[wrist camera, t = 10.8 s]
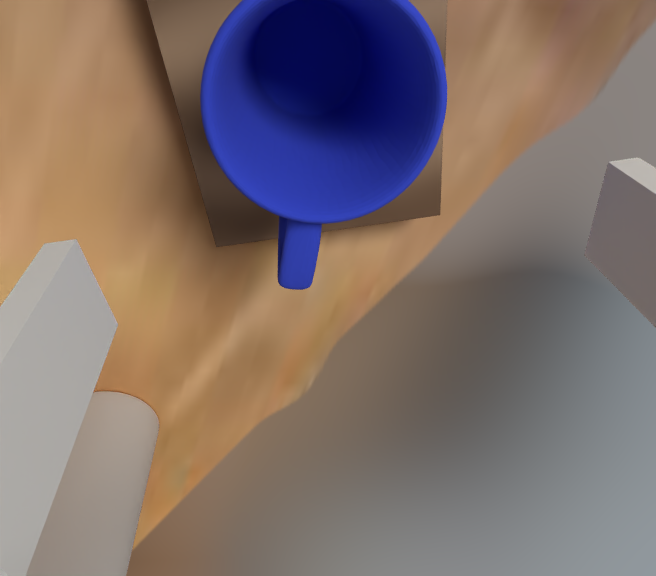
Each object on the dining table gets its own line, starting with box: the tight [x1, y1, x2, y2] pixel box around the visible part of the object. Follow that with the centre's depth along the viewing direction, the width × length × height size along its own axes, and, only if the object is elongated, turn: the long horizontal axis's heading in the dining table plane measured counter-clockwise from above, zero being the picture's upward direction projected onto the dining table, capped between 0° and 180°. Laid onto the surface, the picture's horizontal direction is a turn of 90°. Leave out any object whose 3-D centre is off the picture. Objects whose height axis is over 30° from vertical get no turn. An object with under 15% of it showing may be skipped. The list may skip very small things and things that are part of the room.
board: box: [146, 0, 447, 247], centre depth 27 cm, size 16×14×4 cm
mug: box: [200, 0, 447, 290], centre depth 21 cm, size 8×12×10 cm
